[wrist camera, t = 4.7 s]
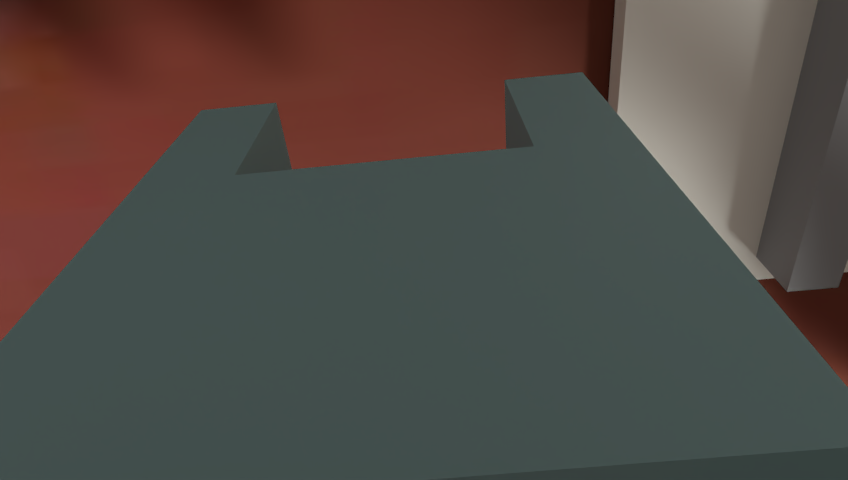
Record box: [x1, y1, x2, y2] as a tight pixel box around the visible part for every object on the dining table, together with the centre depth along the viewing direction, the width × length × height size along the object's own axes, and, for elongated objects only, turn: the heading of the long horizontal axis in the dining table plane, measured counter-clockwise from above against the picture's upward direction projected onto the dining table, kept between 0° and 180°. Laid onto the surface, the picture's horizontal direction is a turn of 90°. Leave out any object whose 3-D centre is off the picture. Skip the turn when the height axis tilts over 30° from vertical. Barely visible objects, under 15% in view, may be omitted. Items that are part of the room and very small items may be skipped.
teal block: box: [0, 72, 848, 480], centre depth 8 cm, size 7×6×7 cm
